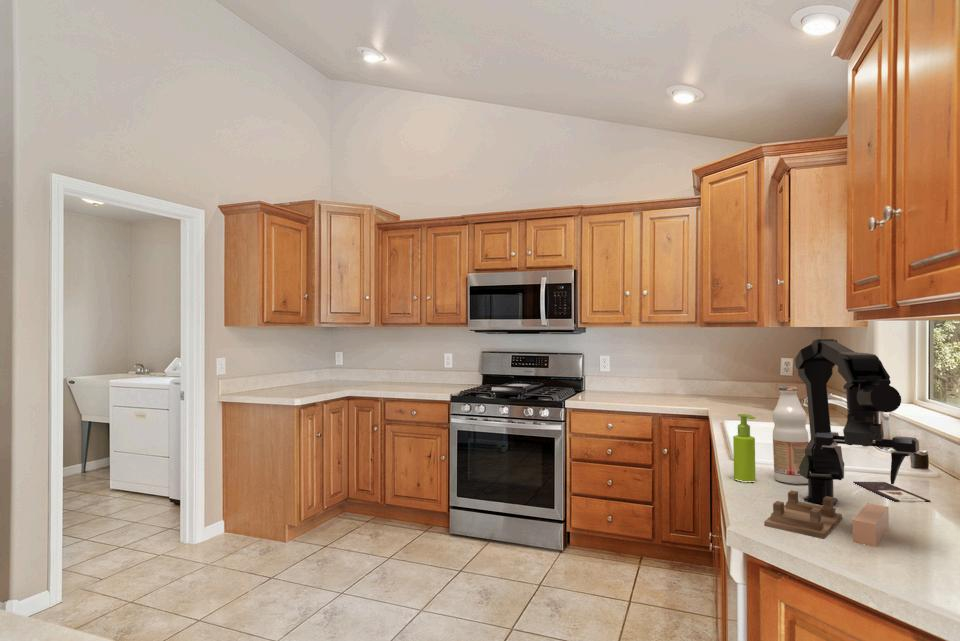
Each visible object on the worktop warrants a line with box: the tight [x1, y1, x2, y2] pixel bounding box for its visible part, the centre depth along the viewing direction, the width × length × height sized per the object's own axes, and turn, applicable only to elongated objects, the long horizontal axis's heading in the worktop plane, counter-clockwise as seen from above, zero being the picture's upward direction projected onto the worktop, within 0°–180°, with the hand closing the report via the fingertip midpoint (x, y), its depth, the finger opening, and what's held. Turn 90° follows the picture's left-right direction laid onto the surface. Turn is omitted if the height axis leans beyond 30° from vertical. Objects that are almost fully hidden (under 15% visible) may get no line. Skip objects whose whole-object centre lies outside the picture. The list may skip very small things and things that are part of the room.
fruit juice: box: [771, 386, 810, 485], centre depth 166 cm, size 9×9×28 cm
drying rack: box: [763, 490, 843, 539], centre depth 130 cm, size 18×12×5 cm, turn 136°
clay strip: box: [852, 502, 890, 548], centre depth 122 cm, size 16×4×5 cm, turn 135°
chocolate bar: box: [853, 481, 931, 503], centre depth 154 cm, size 9×1×18 cm
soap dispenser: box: [732, 413, 756, 482], centre depth 166 cm, size 6×7×20 cm
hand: (866, 481), depth 122 cm, fingers open, 9 cm apart
